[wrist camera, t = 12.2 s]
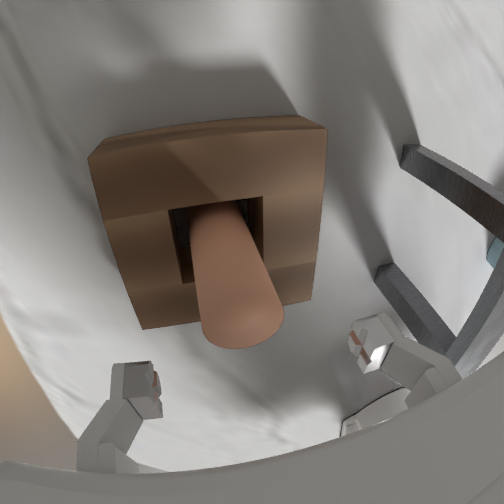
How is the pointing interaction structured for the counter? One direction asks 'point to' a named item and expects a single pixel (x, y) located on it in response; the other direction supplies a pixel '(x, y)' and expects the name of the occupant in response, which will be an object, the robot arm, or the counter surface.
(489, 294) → the grey u-shaped bracket
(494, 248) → the cup
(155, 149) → the socket
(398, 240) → the counter surface
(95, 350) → the counter surface
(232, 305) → the peg
